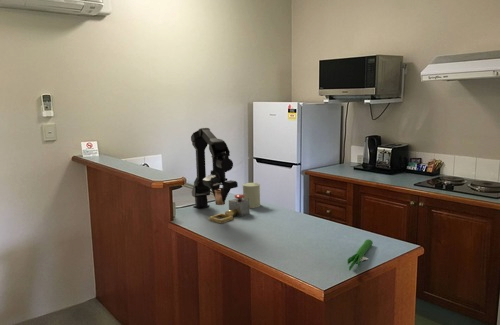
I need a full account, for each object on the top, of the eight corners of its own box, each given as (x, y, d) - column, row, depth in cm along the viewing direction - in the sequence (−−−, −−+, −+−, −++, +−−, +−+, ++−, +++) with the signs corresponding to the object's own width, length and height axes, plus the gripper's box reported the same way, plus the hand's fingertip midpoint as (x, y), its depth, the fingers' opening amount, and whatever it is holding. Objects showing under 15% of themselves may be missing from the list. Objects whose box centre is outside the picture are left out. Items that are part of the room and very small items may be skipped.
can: (260, 207, 212) (259, 185, 210) (242, 208, 212) (242, 185, 210) (260, 203, 221) (259, 181, 219) (243, 203, 221) (242, 182, 219)
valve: (221, 216, 198) (220, 198, 197) (238, 211, 207) (238, 193, 205) (233, 219, 193) (232, 200, 191) (250, 213, 201) (249, 195, 200)
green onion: (363, 246, 155) (342, 273, 128) (363, 238, 154) (342, 263, 128) (376, 248, 152) (358, 276, 126) (376, 240, 152) (358, 265, 126)
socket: (209, 220, 192) (208, 217, 192) (221, 216, 198) (221, 213, 198) (220, 223, 187) (220, 220, 186) (233, 219, 192) (233, 216, 192)
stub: (212, 204, 191) (211, 189, 190) (220, 201, 195) (219, 187, 194) (220, 205, 187) (219, 191, 186) (228, 203, 191) (227, 189, 190)
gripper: (192, 168, 189) (194, 201, 191) (219, 172, 176) (221, 207, 179) (210, 165, 197) (211, 196, 199) (237, 169, 184) (239, 202, 187)
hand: (220, 200), depth 191 cm, fingers closed on stub, 4 cm apart
